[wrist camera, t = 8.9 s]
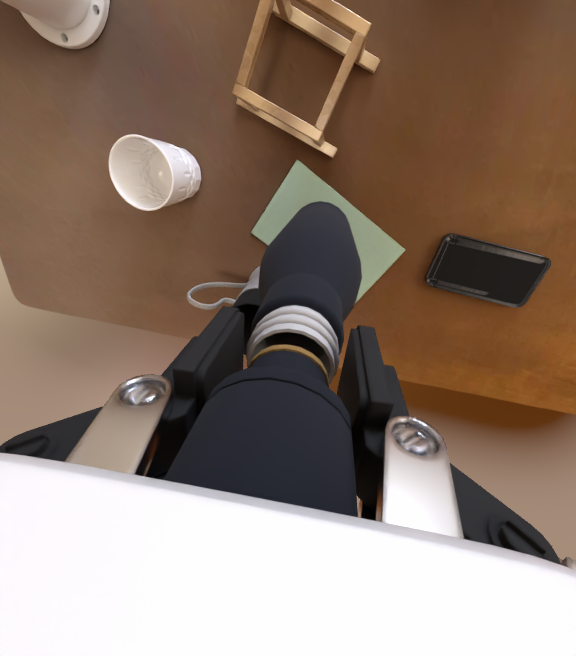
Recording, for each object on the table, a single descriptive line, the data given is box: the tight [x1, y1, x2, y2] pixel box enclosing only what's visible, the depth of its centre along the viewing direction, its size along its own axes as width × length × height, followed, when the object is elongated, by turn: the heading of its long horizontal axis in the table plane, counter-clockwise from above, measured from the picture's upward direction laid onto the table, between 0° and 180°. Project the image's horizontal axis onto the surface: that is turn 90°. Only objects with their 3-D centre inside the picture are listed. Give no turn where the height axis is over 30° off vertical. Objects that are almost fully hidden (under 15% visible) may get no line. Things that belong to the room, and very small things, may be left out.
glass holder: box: [187, 266, 261, 355], centre depth 43 cm, size 9×14×15 cm, turn 71°
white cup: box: [109, 135, 201, 211], centre depth 39 cm, size 8×8×10 cm
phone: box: [425, 233, 551, 308], centre depth 43 cm, size 8×1×15 cm
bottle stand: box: [233, 0, 380, 158], centre depth 33 cm, size 14×11×9 cm
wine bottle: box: [163, 201, 362, 517], centre depth 18 cm, size 6×6×30 cm
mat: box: [251, 160, 405, 303], centre depth 45 cm, size 20×12×1 cm, turn 54°
